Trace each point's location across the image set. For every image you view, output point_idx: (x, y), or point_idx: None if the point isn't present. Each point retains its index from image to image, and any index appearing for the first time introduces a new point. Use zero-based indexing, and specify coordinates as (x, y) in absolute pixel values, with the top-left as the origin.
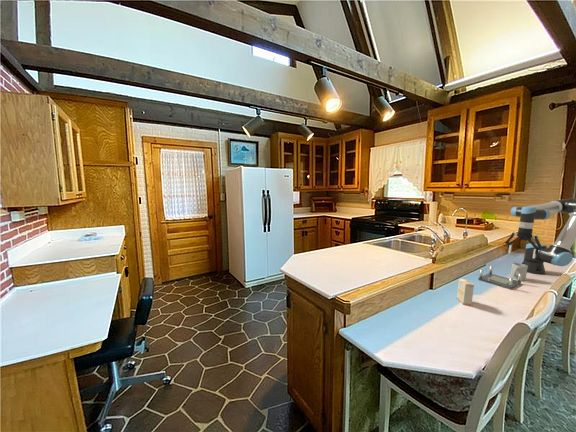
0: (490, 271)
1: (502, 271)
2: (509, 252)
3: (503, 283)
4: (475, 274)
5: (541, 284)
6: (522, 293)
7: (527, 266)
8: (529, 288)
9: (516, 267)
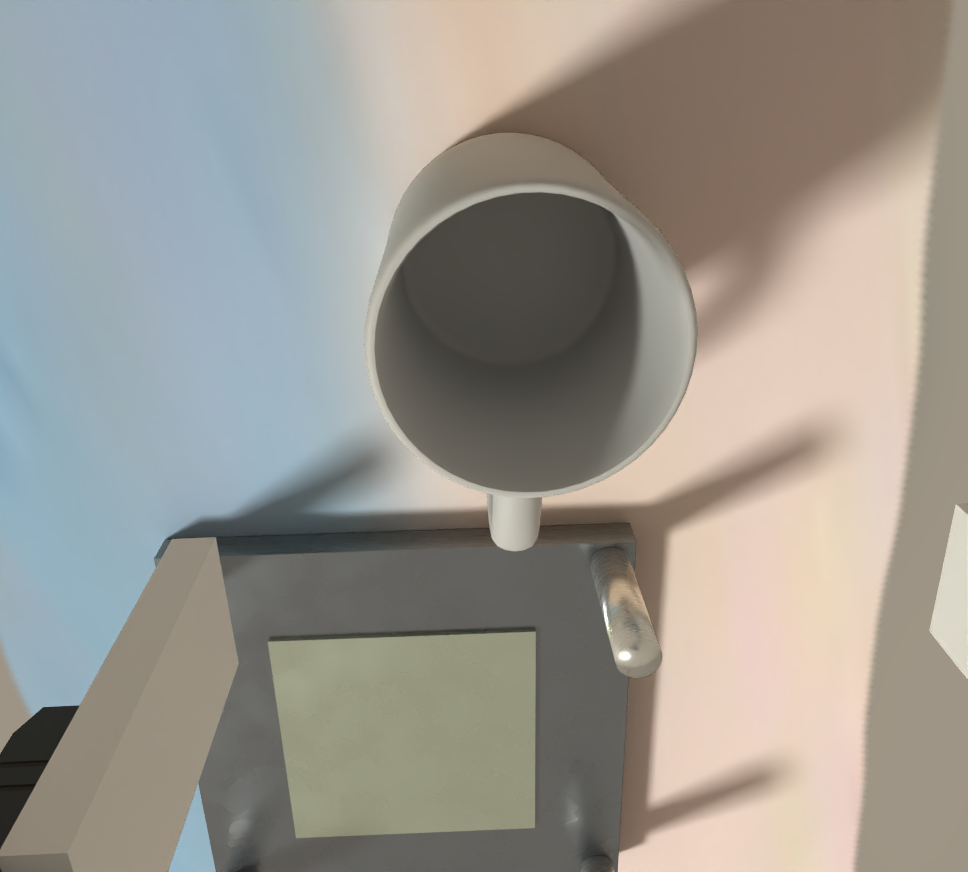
0: None
1: (139, 24)
2: (219, 690)
3: (505, 829)
4: None
5: (861, 225)
6: (732, 856)
7: (696, 336)
8: (756, 616)
9: (510, 498)
